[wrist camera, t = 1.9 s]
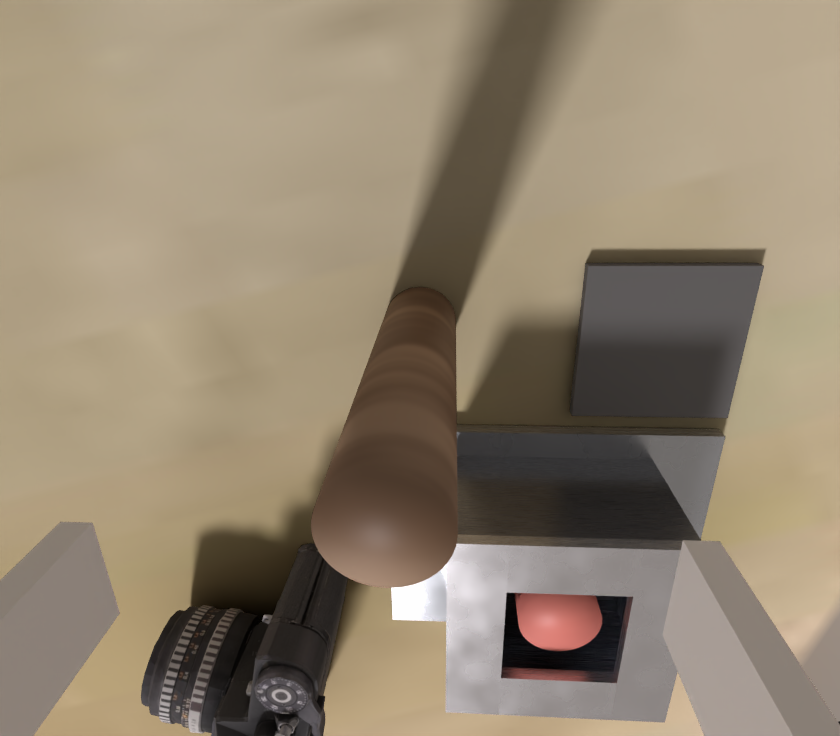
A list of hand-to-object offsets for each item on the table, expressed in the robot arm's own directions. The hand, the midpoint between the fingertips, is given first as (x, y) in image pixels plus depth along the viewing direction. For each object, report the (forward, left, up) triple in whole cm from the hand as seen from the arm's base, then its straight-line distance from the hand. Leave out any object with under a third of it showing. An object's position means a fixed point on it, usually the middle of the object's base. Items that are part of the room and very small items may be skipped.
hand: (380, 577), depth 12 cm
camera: (+21, -11, -18) cm, 29 cm away
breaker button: (+13, +7, -14) cm, 20 cm away
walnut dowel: (0, 0, -17) cm, 17 cm away
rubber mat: (+1, +12, -17) cm, 21 cm away
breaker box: (+13, +7, -17) cm, 22 cm away
